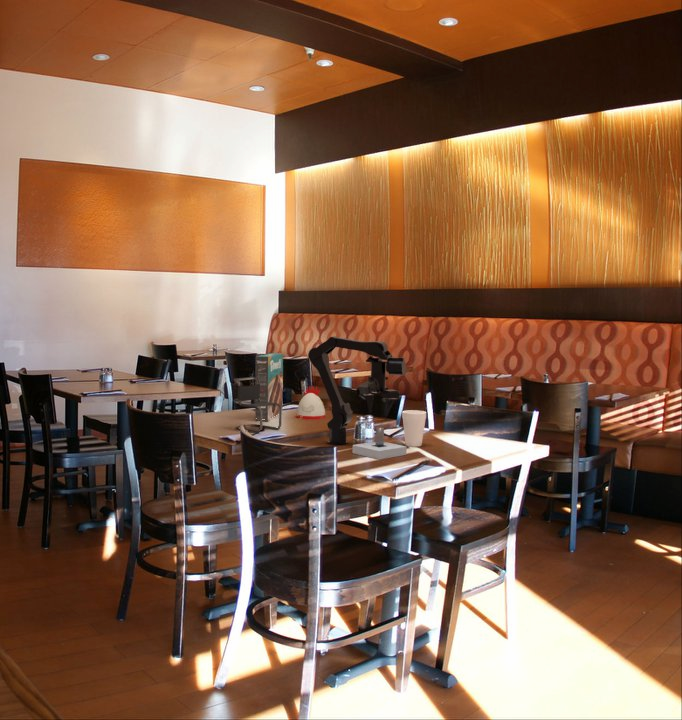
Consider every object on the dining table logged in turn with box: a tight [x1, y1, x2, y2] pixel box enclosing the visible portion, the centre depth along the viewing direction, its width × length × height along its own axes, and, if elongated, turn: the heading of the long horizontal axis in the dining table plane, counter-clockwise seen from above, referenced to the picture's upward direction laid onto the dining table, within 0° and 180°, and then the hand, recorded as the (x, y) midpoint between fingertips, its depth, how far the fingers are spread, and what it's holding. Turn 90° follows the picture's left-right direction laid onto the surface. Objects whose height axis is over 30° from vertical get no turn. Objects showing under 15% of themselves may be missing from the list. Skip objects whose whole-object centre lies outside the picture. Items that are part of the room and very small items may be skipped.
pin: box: [375, 427, 385, 447], centre depth 280 cm, size 3×3×10 cm
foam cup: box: [401, 409, 427, 448], centre depth 299 cm, size 10×9×13 cm
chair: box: [233, 376, 283, 433], centre depth 328 cm, size 13×17×22 cm
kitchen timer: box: [296, 385, 326, 420], centre depth 366 cm, size 14×14×15 cm
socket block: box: [352, 441, 408, 460], centre depth 281 cm, size 14×14×3 cm
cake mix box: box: [254, 352, 284, 423], centre depth 360 cm, size 22×6×30 cm, turn 167°
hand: (377, 414), depth 294 cm, fingers open, 9 cm apart
